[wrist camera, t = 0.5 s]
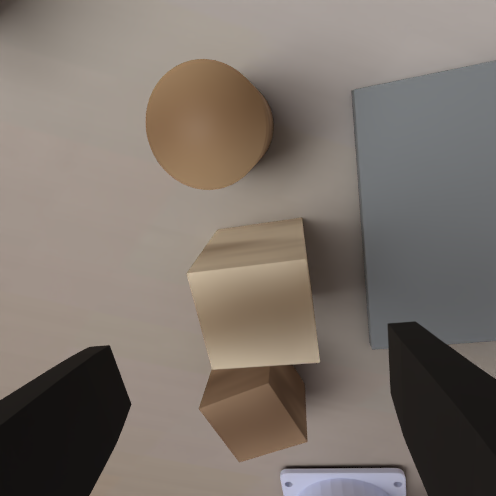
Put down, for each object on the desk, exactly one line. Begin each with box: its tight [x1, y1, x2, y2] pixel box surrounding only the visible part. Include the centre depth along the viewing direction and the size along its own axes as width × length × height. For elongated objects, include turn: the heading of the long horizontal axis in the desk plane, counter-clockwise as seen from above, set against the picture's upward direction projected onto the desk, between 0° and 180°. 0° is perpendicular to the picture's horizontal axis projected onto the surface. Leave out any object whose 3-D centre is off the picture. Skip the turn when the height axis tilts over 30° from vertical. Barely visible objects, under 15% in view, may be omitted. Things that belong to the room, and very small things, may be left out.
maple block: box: [187, 218, 320, 370], centre depth 15 cm, size 4×4×6 cm
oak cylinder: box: [146, 59, 274, 190], centre depth 13 cm, size 4×4×5 cm
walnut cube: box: [199, 364, 307, 462], centre depth 18 cm, size 4×4×4 cm
